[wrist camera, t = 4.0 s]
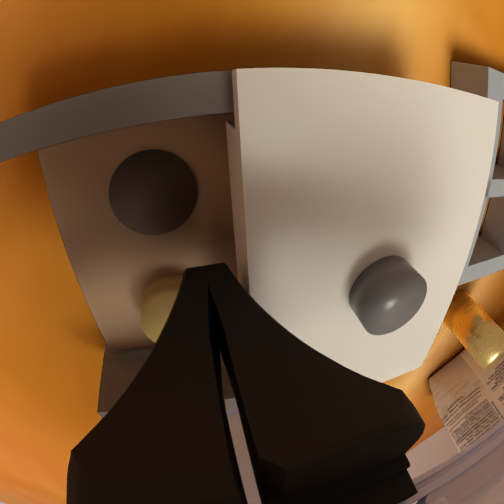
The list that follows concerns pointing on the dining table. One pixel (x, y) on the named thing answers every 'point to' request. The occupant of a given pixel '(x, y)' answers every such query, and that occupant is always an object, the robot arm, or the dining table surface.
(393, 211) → the lid
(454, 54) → the dining table surface
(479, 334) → the pin
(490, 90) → the socket board
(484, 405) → the juice carton
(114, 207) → the housing
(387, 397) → the robot arm
